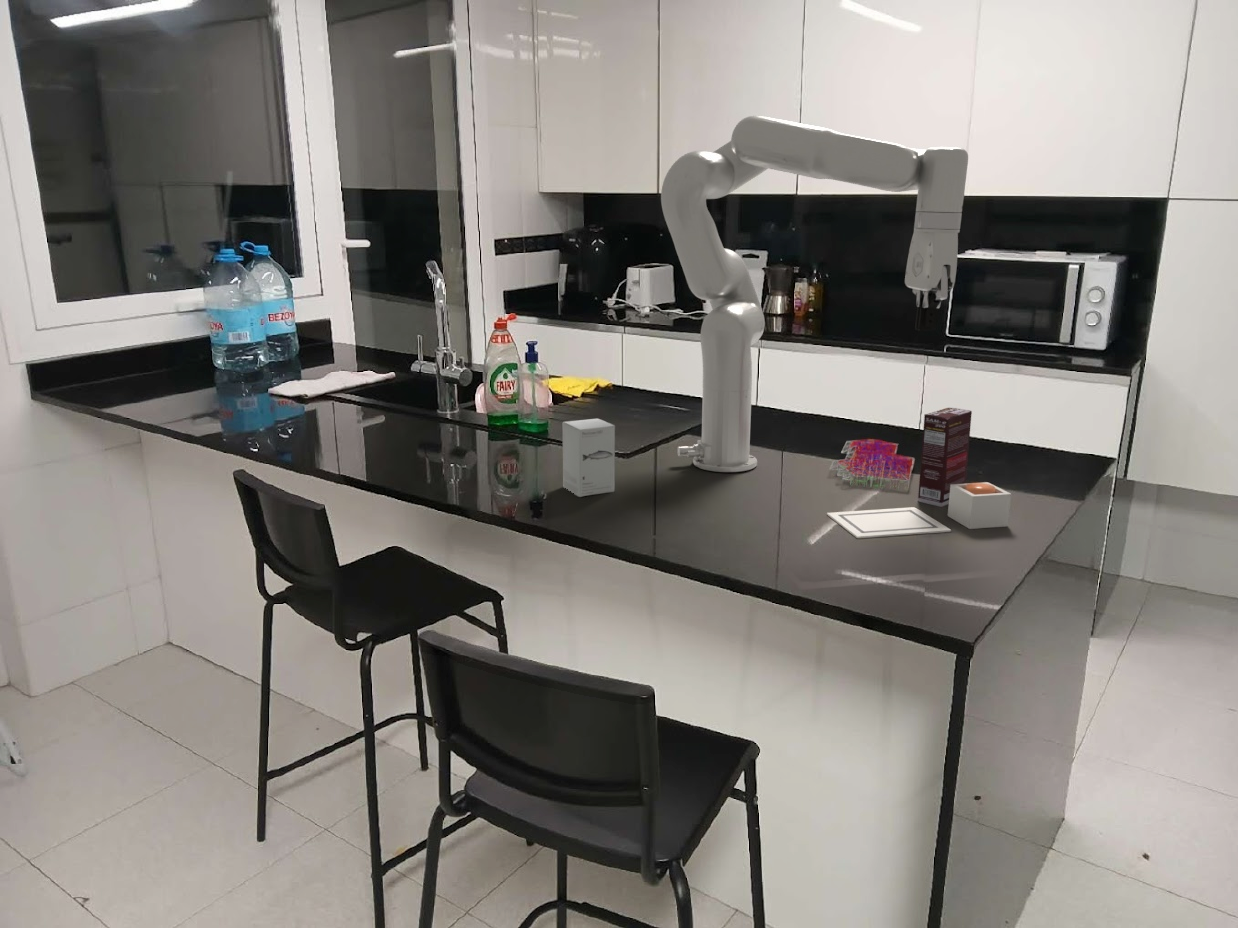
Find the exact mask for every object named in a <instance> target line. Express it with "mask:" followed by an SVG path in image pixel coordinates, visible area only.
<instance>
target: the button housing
mask: <svg viewBox="0 0 1238 928" xmlns="http://www.w3.org/2000/svg"><path fill="white" fill-rule="evenodd" d="M981 483H984V484H989V485H992V486H994V487H995V493H993V494H977V495H974V494H972V493H971V492H969V491H967V490H966V485H967V484H969V482H968V483H966V484H951V485H950V496H949V504H948V505H947V506H948V509H947V517H949V518H950V519H953V520H954V521H955V522H957V523H958V524H961V525H962V526H964V527H965V528H966V529H967V528H968V529H969V530H973V529H975V530H976V529H988V528H1004V527H1009V518H1010V509H1011V503H1012V501H1011V500H1012V493H1011V492H1009V491H1006V490H1005V489H1003V488H1001V487H998V486H996V485H994V484H992V483H990V482H987V481H984V482H981Z"/></svg>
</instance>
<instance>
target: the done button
mask: <svg viewBox="0 0 1238 928" xmlns="http://www.w3.org/2000/svg"><path fill="white" fill-rule="evenodd" d="M968 483H969V482H968ZM992 485H993V484H992ZM992 485H989V484H984V483H982V482H970V483H969V484H967V485H966V490H967V491H969V492H971V493H972V494H974V495H977V494H993V493H995V487H994V486H995V485H994V486H992Z"/></svg>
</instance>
